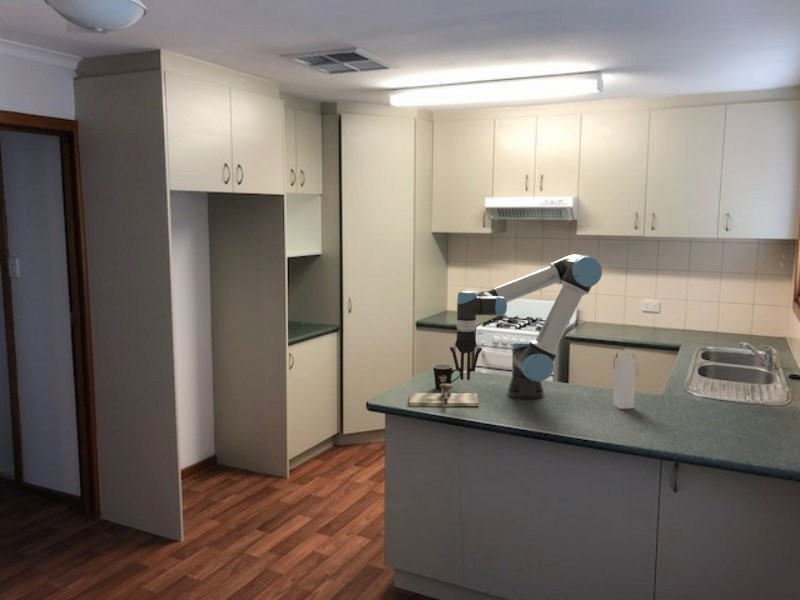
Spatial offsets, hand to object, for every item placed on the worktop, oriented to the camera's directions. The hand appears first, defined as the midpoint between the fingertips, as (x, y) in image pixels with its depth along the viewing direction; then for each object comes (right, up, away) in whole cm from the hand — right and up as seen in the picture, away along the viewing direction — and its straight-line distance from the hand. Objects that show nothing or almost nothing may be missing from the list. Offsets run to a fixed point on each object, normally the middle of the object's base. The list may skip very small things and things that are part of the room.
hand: (464, 387), depth 262 cm
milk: (+64, -8, -1) cm, 64 cm away
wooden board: (-8, -7, +8) cm, 13 cm away
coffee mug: (-6, -4, +26) cm, 27 cm away
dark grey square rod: (-7, -5, +5) cm, 10 cm away
